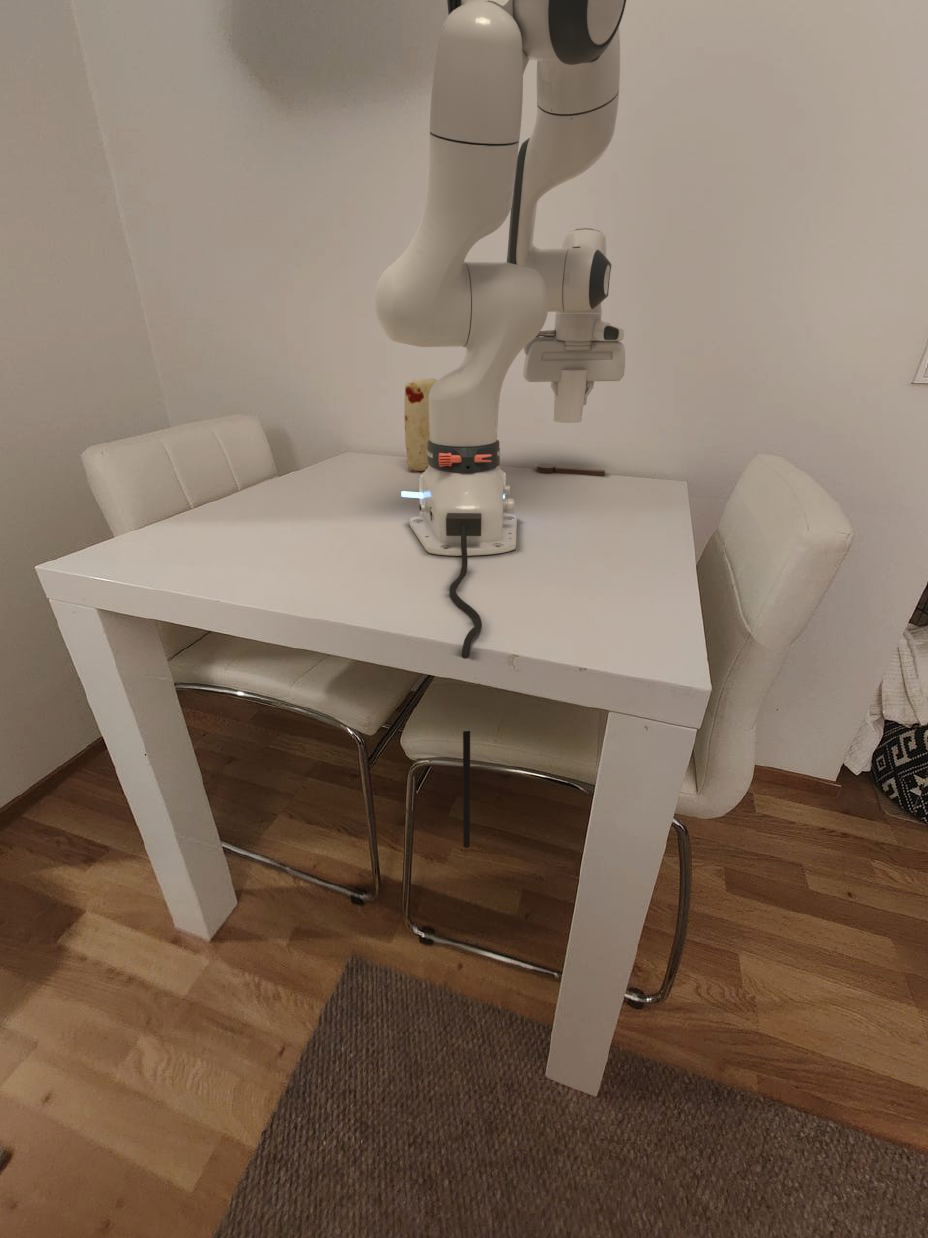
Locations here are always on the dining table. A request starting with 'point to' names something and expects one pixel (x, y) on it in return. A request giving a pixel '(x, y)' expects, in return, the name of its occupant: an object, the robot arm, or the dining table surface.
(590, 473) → the wooden spoon
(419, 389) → the food model
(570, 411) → the white cup
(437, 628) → the dining table surface
